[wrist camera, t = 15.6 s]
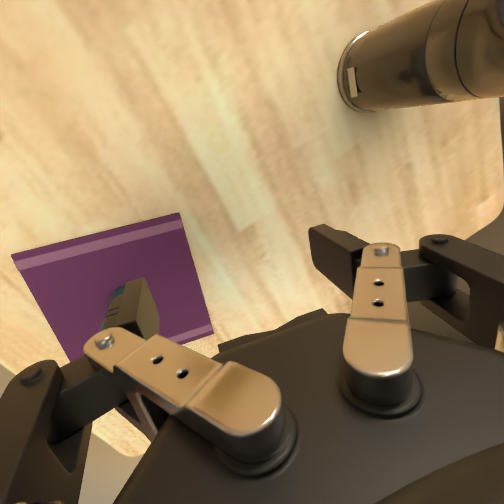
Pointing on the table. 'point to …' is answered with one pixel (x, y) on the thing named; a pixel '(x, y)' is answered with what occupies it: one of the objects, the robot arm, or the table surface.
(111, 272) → the napkin
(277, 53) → the table surface
